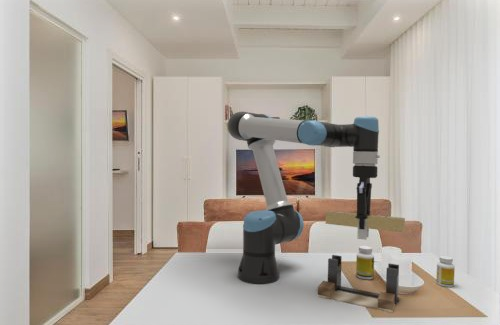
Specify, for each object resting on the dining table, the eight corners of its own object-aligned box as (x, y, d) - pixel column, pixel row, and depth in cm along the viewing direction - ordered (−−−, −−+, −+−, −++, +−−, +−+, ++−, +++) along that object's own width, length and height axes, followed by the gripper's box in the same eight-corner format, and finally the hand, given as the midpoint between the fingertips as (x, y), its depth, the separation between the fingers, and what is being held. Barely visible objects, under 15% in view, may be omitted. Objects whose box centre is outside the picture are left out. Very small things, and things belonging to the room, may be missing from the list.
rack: (325, 290, 113) (326, 258, 113) (330, 284, 118) (331, 254, 118) (398, 304, 102) (399, 270, 102) (399, 297, 108) (400, 265, 107)
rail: (325, 223, 114) (325, 211, 114) (327, 222, 117) (328, 210, 117) (403, 232, 103) (404, 219, 103) (404, 230, 106) (404, 217, 106)
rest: (317, 296, 107) (317, 286, 107) (323, 289, 114) (323, 280, 114) (392, 312, 97) (392, 302, 97) (394, 303, 103) (395, 293, 103)
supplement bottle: (432, 282, 122) (433, 255, 121) (444, 281, 123) (444, 254, 123) (446, 288, 117) (447, 260, 116) (457, 286, 118) (458, 258, 118)
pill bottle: (374, 280, 122) (375, 250, 122) (357, 279, 124) (357, 248, 124) (372, 275, 129) (373, 245, 128) (355, 273, 130) (355, 244, 130)
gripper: (373, 165, 101) (371, 244, 101) (380, 165, 115) (378, 234, 115) (347, 165, 104) (345, 241, 105) (357, 164, 118) (356, 231, 119)
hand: (363, 237), depth 110 cm, fingers closed on rail, 3 cm apart
